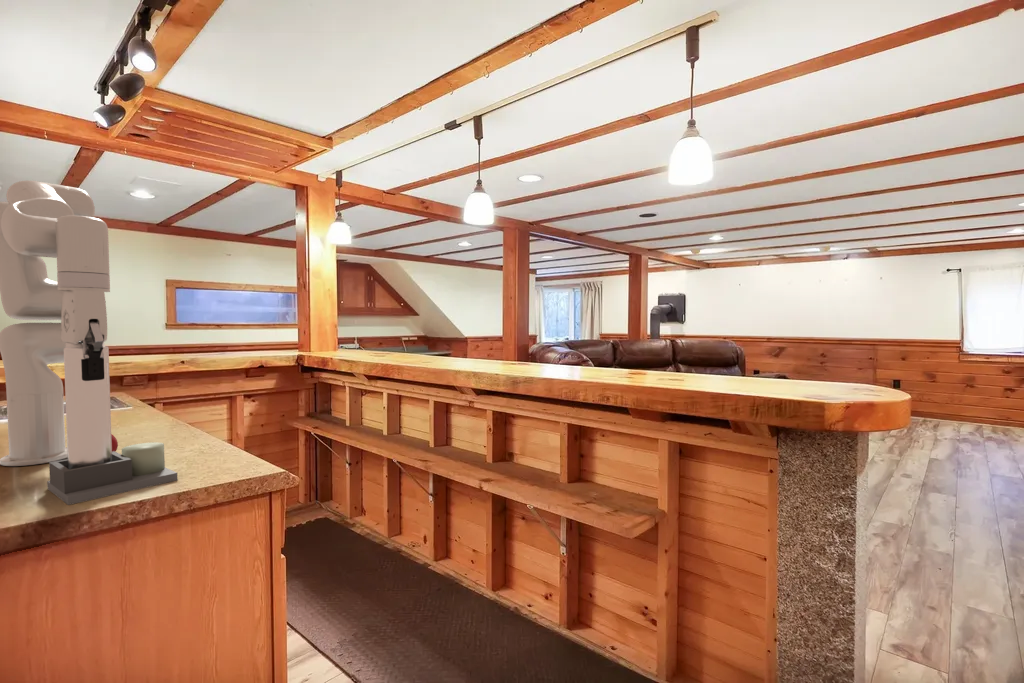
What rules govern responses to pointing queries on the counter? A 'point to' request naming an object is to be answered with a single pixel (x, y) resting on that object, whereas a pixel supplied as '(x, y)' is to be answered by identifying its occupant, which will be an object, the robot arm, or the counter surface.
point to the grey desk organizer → (111, 474)
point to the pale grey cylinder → (86, 412)
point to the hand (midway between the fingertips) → (87, 377)
